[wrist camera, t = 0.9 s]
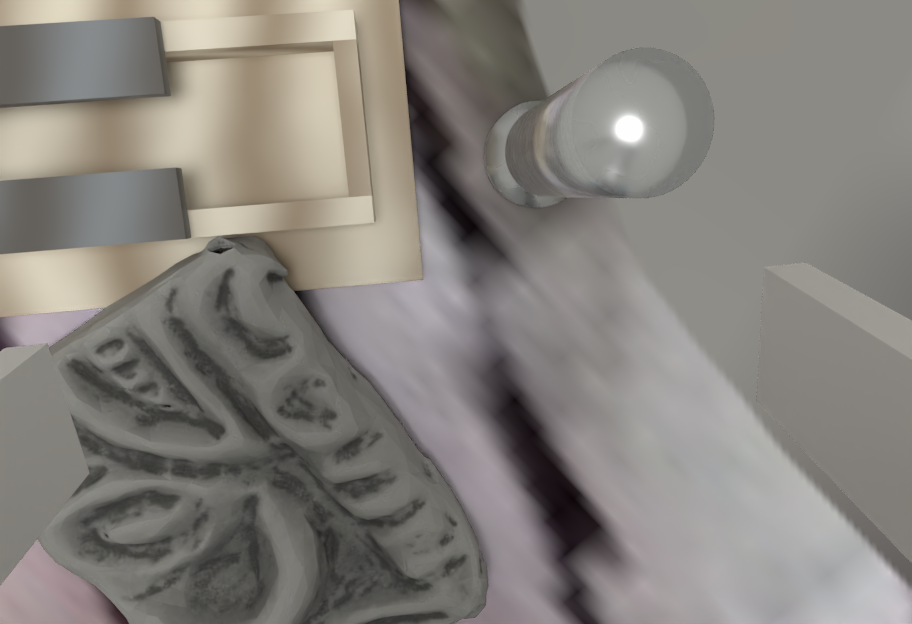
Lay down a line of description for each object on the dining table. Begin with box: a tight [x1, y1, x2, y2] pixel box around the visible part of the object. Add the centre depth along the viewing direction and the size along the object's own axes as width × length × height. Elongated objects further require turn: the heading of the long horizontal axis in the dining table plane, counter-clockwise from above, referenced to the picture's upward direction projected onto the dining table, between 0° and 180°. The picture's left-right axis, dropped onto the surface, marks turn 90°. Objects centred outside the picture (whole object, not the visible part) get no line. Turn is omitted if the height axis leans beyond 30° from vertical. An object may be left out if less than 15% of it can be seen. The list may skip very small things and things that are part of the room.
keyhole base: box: [0, 0, 423, 317], centre depth 31 cm, size 26×15×4 cm, turn 95°
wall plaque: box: [38, 236, 488, 624], centre depth 34 cm, size 23×19×4 cm
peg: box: [484, 48, 714, 207], centre depth 27 cm, size 5×5×16 cm
